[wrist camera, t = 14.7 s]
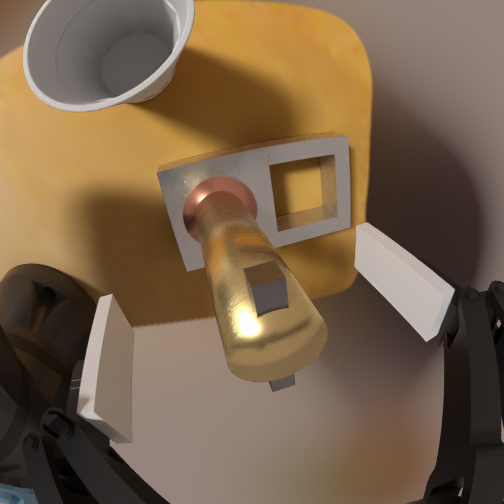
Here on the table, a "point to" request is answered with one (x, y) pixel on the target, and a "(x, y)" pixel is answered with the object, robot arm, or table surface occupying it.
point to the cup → (104, 51)
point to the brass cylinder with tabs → (255, 296)
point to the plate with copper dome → (258, 189)
